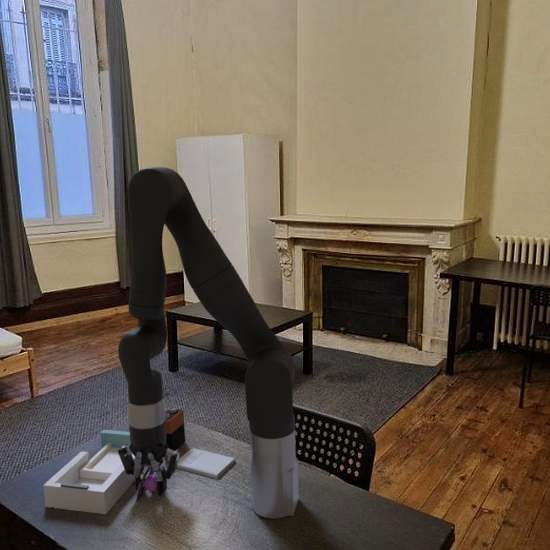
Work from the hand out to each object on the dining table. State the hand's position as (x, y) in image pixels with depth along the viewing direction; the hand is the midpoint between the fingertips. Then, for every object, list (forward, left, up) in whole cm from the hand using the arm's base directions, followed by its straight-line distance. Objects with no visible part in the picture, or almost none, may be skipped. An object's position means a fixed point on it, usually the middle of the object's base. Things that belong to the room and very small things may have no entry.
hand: (151, 492), depth 113 cm
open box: (+13, +1, -1) cm, 13 cm away
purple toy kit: (0, -1, -1) cm, 2 cm away
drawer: (+13, -9, 0) cm, 16 cm away
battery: (+4, -20, -1) cm, 20 cm away
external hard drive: (-7, -14, -1) cm, 16 cm away
